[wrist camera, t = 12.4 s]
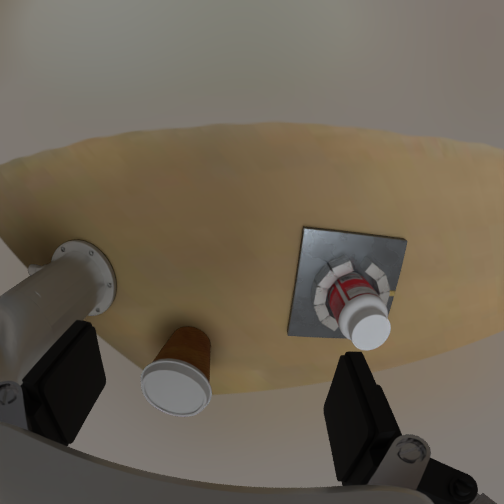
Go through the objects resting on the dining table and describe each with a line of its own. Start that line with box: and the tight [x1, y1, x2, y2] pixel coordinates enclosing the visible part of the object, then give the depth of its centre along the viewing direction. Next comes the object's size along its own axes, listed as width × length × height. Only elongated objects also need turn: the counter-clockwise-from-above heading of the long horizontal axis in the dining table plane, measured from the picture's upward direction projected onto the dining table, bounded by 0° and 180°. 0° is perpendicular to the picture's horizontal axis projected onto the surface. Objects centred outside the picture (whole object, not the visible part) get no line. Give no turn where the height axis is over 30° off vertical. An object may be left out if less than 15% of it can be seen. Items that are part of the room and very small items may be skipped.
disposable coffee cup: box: [141, 327, 212, 417], centre depth 40 cm, size 10×10×12 cm
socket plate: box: [287, 227, 407, 338], centre depth 40 cm, size 15×16×4 cm
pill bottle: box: [327, 272, 391, 350], centre depth 36 cm, size 6×6×11 cm
